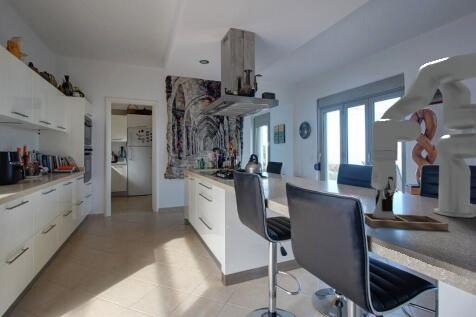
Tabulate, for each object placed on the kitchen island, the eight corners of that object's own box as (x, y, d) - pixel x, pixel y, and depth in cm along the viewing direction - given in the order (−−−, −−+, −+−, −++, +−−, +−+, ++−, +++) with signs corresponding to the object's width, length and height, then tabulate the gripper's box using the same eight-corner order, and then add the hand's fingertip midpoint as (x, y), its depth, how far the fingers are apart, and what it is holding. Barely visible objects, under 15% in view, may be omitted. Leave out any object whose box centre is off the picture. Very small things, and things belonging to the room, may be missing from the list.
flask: (399, 220, 85) (400, 190, 85) (375, 219, 87) (375, 189, 86) (391, 215, 92) (391, 187, 92) (369, 214, 94) (369, 186, 94)
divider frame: (427, 220, 93) (427, 215, 93) (448, 230, 81) (448, 223, 81) (360, 218, 96) (360, 212, 96) (371, 226, 85) (371, 220, 85)
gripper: (364, 156, 98) (364, 204, 98) (382, 156, 81) (381, 214, 82) (386, 156, 97) (385, 205, 97) (408, 156, 80) (407, 215, 80)
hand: (383, 208), depth 89 cm, fingers closed on flask, 4 cm apart
